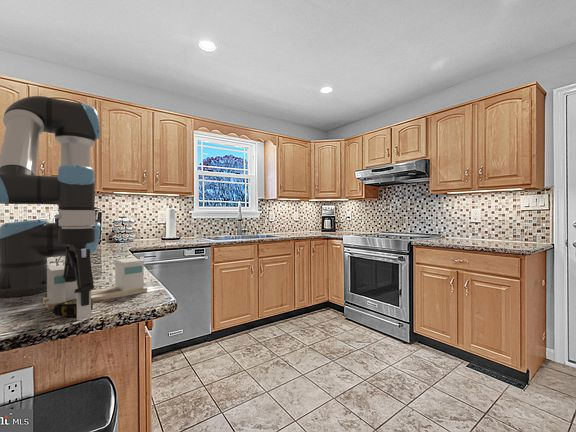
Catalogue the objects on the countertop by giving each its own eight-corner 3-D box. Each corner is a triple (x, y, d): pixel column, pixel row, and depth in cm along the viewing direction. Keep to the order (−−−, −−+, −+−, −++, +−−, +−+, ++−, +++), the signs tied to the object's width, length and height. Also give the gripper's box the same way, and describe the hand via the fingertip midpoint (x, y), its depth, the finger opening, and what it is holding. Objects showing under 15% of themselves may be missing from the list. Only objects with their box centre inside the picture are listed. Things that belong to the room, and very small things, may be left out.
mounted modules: (47, 298, 84) (46, 266, 83) (134, 283, 101) (134, 257, 101) (51, 304, 78) (51, 270, 78) (143, 288, 95) (143, 260, 95)
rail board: (43, 302, 84) (43, 296, 84) (135, 286, 102) (135, 282, 102) (48, 310, 77) (48, 304, 77) (147, 291, 95) (147, 287, 95)
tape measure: (77, 309, 78) (77, 295, 78) (99, 311, 77) (99, 297, 77) (52, 319, 71) (52, 303, 71) (76, 320, 70) (76, 305, 70)
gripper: (50, 226, 79) (50, 304, 79) (69, 230, 62) (69, 329, 62) (83, 225, 85) (83, 298, 85) (108, 228, 68) (109, 320, 68)
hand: (77, 312), depth 74 cm, fingers open, 13 cm apart
